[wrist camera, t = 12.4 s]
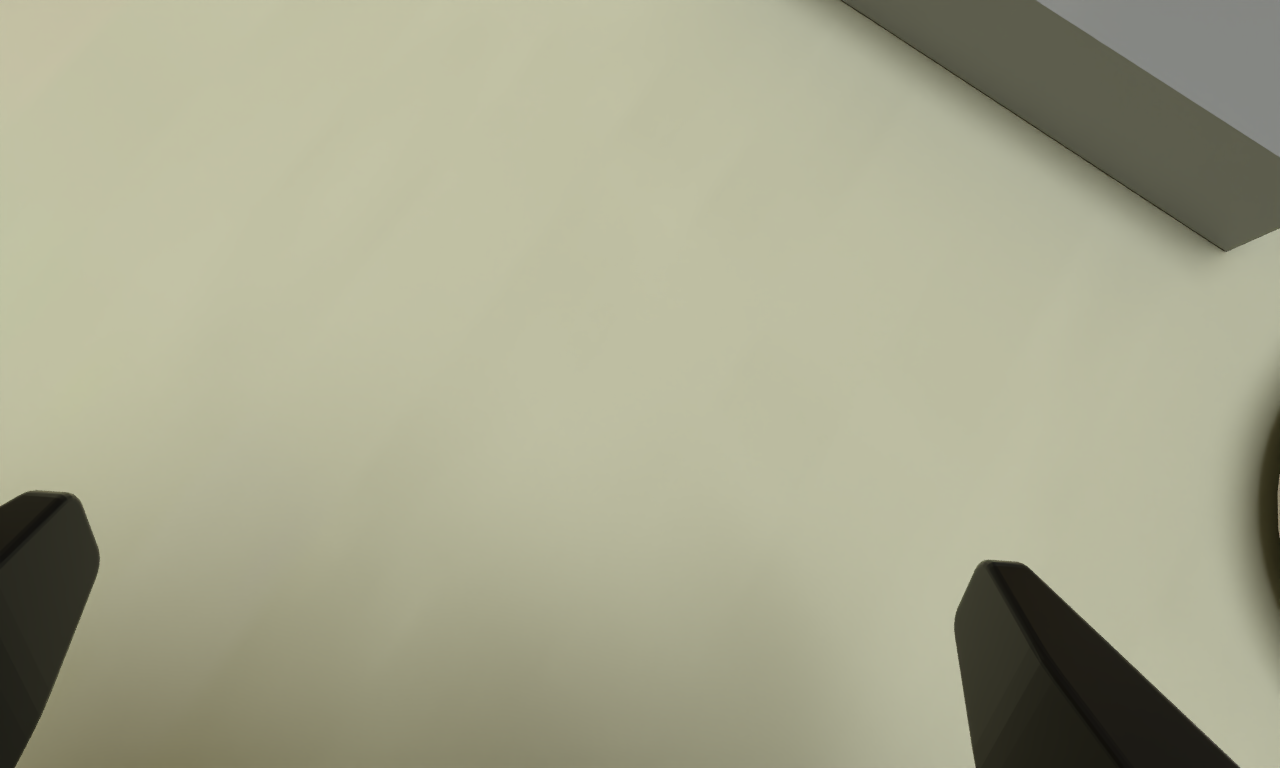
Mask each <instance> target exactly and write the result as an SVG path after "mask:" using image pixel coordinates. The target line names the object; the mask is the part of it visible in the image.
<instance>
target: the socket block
mask: <svg viewBox="0 0 1280 768" xmlns="http://www.w3.org/2000/svg"><path fill="white" fill-rule="evenodd" d="M842 1H844V2H845V3H847V4H848V5H850V6H851V7H853V8H855V9H856V10H858V11H859V12H861V13H862V14H864V15H865V16H867V17H868V18H870V19H871V20H873V21H874V22H876V23H877V24H879V25H881V26H882V27H884V28H885V29H887V30H888V31H890V32H891V33H893V34H894V35H896V36H897V37H899V38H900V39H902V40H903V41H905V42H907V43H908V44H910V45H911V46H913V47H914V48H916V49H917V50H919V51H920V52H922V53H923V54H925V55H926V56H928V57H929V58H931V59H932V60H934V61H936V62H937V63H939V64H940V65H942V66H943V67H945V68H946V69H948V70H949V71H951V72H952V73H954V74H955V75H957V76H958V77H960V78H962V79H963V80H965V81H966V82H968V83H969V84H971V85H972V86H974V87H975V88H977V89H978V90H980V91H981V92H983V93H984V94H986V95H988V96H989V97H991V98H992V99H994V100H995V101H997V102H998V103H1000V104H1001V105H1003V106H1004V107H1006V108H1007V109H1009V110H1010V111H1012V112H1013V113H1015V114H1017V115H1018V116H1020V117H1021V118H1023V119H1024V120H1026V121H1027V122H1029V123H1030V124H1032V125H1033V126H1035V127H1036V128H1038V129H1039V130H1041V131H1043V132H1044V133H1046V134H1047V135H1049V136H1050V137H1052V138H1053V139H1055V140H1056V141H1058V142H1059V143H1061V144H1062V145H1064V146H1065V147H1067V148H1069V149H1070V150H1072V151H1073V152H1075V153H1076V154H1078V155H1079V156H1081V157H1082V158H1084V159H1085V160H1087V161H1088V162H1090V163H1091V164H1093V165H1094V166H1096V167H1098V168H1099V169H1101V170H1102V171H1104V172H1105V173H1107V174H1108V175H1110V176H1111V177H1113V178H1114V179H1116V180H1117V181H1119V182H1120V183H1122V184H1124V185H1125V186H1127V187H1128V188H1130V189H1131V190H1133V191H1134V192H1136V193H1137V194H1139V195H1140V196H1142V197H1143V198H1145V199H1146V200H1148V201H1150V202H1151V203H1153V204H1154V205H1156V206H1157V207H1159V208H1160V209H1162V210H1163V211H1165V212H1166V213H1168V214H1169V215H1171V216H1172V217H1174V218H1175V219H1177V220H1179V221H1180V222H1182V223H1183V224H1185V225H1186V226H1188V227H1189V228H1191V229H1192V230H1194V231H1195V232H1197V233H1198V234H1200V235H1201V236H1203V237H1205V238H1206V239H1208V240H1209V241H1211V242H1212V243H1214V244H1215V245H1217V246H1218V247H1220V248H1221V249H1223V250H1224V251H1226V252H1227V251H1229V250H1231V249H1234V248H1236V247H1238V246H1240V245H1243V244H1245V243H1247V242H1250V241H1252V240H1254V239H1256V238H1259V237H1261V236H1263V235H1265V234H1268V233H1270V232H1272V231H1274V230H1277V229H1279V228H1280V0H842Z"/></svg>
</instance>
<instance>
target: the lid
mask: <svg viewBox="0 0 1280 768" xmlns="http://www.w3.org/2000/svg"><path fill="white" fill-rule="evenodd" d="M1278 530H1279V536H1280V476H1279V485H1278Z"/></svg>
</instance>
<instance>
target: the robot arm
mask: <svg viewBox="0 0 1280 768" xmlns="http://www.w3.org/2000/svg"><path fill="white" fill-rule="evenodd" d="M99 562H100V556H99V549H98V546H97V543H96V541H95V538H94V535H93V533H92V530H91V527H90V525H89V522H88V519H87V516H86V514H85V511H84V508H83V506H82V503H81V501H80V500H79V499H78V498H77V497H76V496H75V495H74V494H70V493H66V492H52V491H38V490H35V491H28V492H25V493H23V494H21V495H19V496H17V497H15V498H14V499H12V500H10V501H9V502H7V503H5V504H3V505H2V506H0V768H15V766H16V764H17V762H18V760H19V758H20V757H21V755H22V753H23V751H24V749H25V747H26V745H27V743H28V741H29V739H30V737H31V735H32V733H33V731H34V729H35V727H36V725H37V723H38V721H39V719H40V717H41V715H42V712H43V710H44V708H45V705H46V703H47V701H48V698H49V696H50V694H51V691H52V689H53V686H54V684H55V681H56V678H57V676H58V673H59V671H60V668H61V666H62V663H63V661H64V658H65V656H66V653H67V650H68V648H69V645H70V643H71V640H72V638H73V635H74V633H75V630H76V628H77V625H78V622H79V620H80V617H81V615H82V612H83V610H84V607H85V605H86V602H87V599H88V597H89V594H90V592H91V589H92V587H93V584H94V582H95V579H96V576H97V573H98V569H99ZM954 632H955V640H956V646H957V653H958V659H959V665H960V672H961V678H962V685H963V691H964V698H965V704H966V711H967V717H968V724H969V730H970V737H971V743H972V750H973V755H974V761H975V766H976V768H1240V767H1239V766H1238V765H1237V764H1236V763H1235V762H1234V761H1233V760H1232V759H1231V758H1230V757H1229V756H1228V755H1227V754H1225V753H1224V752H1223V751H1222V750H1221V749H1220V748H1219V747H1218V746H1217V745H1216V744H1215V743H1214V742H1213V741H1212V740H1211V739H1210V738H1209V737H1207V736H1206V735H1205V734H1204V733H1203V732H1202V731H1201V730H1200V729H1199V728H1198V727H1197V726H1196V725H1195V724H1194V723H1193V722H1192V721H1191V720H1190V719H1188V718H1187V717H1186V716H1185V715H1184V714H1183V713H1182V712H1181V711H1180V710H1179V709H1178V708H1177V707H1176V706H1175V705H1174V704H1173V703H1172V702H1170V701H1169V700H1168V699H1167V698H1166V697H1165V696H1164V695H1163V694H1162V693H1161V692H1160V691H1159V690H1158V689H1157V688H1156V687H1155V686H1154V685H1152V684H1151V683H1150V682H1149V681H1148V680H1147V679H1146V678H1145V677H1144V676H1143V675H1142V674H1141V673H1140V672H1139V671H1138V670H1137V669H1136V668H1135V667H1133V666H1132V665H1131V664H1130V663H1129V662H1128V661H1127V660H1126V659H1125V658H1124V657H1123V656H1122V655H1121V654H1120V653H1119V652H1118V651H1117V650H1115V649H1114V648H1113V647H1112V646H1111V645H1110V644H1109V643H1108V642H1107V641H1106V640H1105V639H1104V638H1103V637H1102V636H1101V635H1100V634H1099V633H1097V632H1096V631H1095V630H1094V629H1093V628H1092V627H1091V626H1090V625H1089V624H1088V623H1087V622H1086V621H1085V620H1084V619H1083V618H1082V617H1081V616H1080V615H1078V614H1077V613H1076V612H1075V611H1074V610H1073V609H1072V608H1071V607H1070V606H1069V605H1068V604H1067V603H1066V602H1065V601H1064V600H1063V599H1062V598H1060V597H1059V596H1058V595H1057V594H1056V593H1055V592H1054V591H1053V590H1052V589H1051V588H1050V587H1049V586H1048V585H1047V584H1046V583H1045V582H1044V581H1042V580H1041V579H1040V578H1039V577H1038V576H1037V575H1036V574H1035V573H1034V572H1033V571H1032V570H1031V569H1030V568H1028V567H1027V566H1026V565H1024V564H1022V563H1019V562H1012V561H999V560H984V561H982V562H981V563H980V564H979V565H978V566H977V568H976V569H975V571H974V573H973V576H972V578H971V580H970V582H969V584H968V587H967V589H966V591H965V593H964V595H963V597H962V600H961V602H960V604H959V606H958V609H957V611H956V615H955V622H954Z"/></svg>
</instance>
